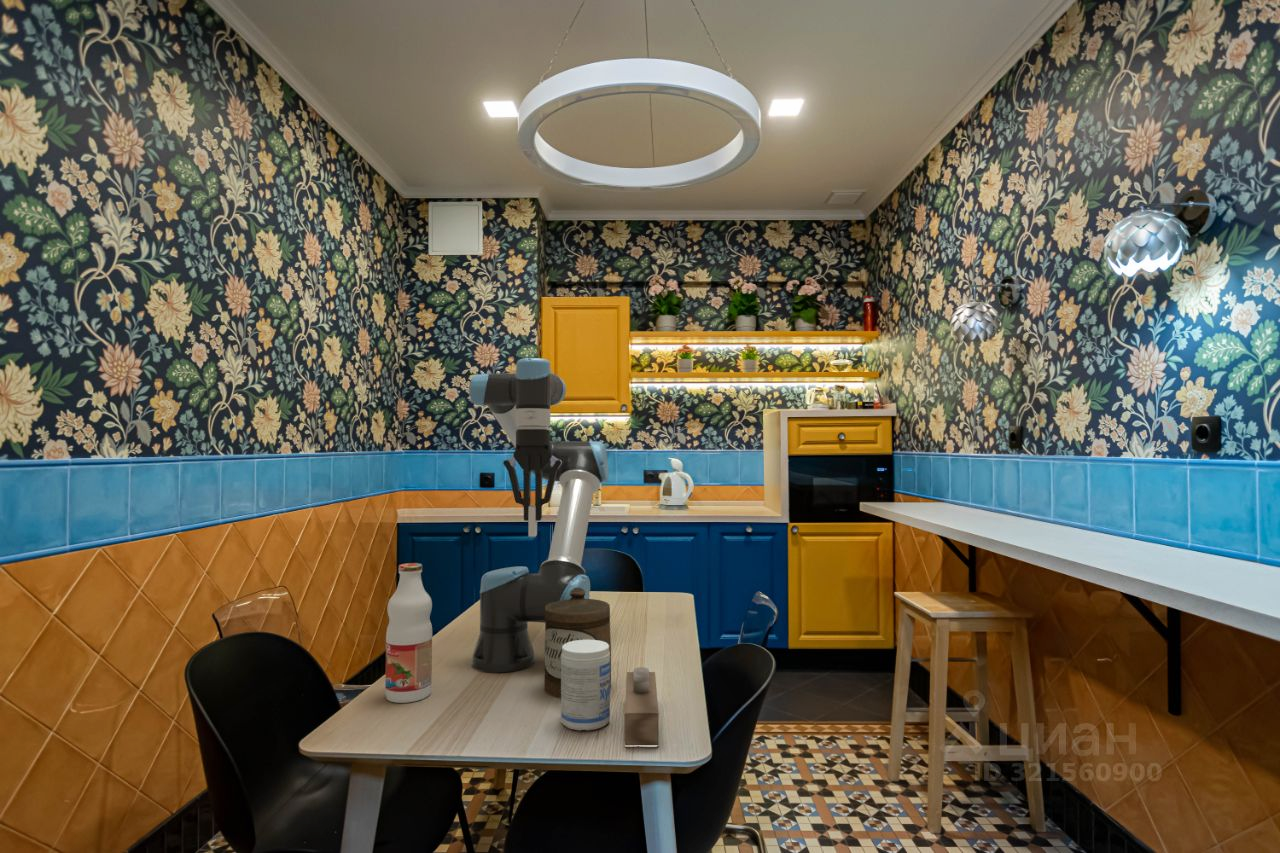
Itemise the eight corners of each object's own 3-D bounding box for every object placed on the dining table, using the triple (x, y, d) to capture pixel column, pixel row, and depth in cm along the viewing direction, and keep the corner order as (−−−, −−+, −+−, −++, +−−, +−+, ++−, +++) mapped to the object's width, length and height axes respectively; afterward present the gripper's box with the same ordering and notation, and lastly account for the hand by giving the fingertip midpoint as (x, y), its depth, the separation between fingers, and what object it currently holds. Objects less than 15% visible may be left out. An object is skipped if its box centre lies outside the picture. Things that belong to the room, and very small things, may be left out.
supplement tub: (611, 731, 123) (612, 652, 124) (560, 734, 122) (561, 654, 122) (607, 711, 133) (608, 637, 133) (560, 713, 131) (561, 639, 132)
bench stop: (624, 747, 116) (624, 690, 117) (626, 700, 138) (626, 652, 139) (658, 747, 116) (658, 690, 117) (655, 700, 138) (655, 652, 139)
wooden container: (532, 694, 142) (532, 592, 143) (562, 673, 156) (563, 579, 157) (594, 703, 137) (595, 597, 138) (620, 680, 151) (621, 584, 152)
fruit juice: (437, 697, 140) (439, 565, 141) (391, 707, 134) (394, 570, 136) (423, 685, 148) (425, 559, 149) (380, 693, 142) (382, 563, 143)
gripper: (500, 428, 141) (499, 538, 140) (560, 428, 141) (560, 538, 141) (506, 429, 149) (506, 533, 148) (564, 428, 149) (564, 533, 148)
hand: (532, 535), depth 144 cm, fingers closed
